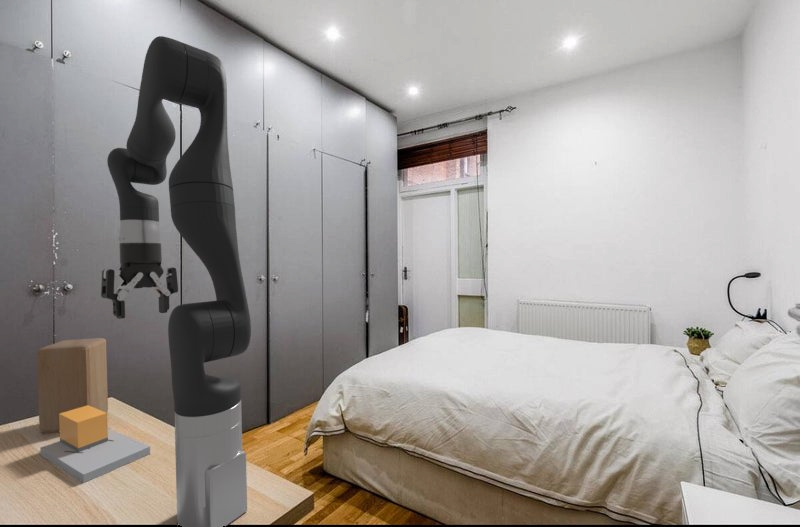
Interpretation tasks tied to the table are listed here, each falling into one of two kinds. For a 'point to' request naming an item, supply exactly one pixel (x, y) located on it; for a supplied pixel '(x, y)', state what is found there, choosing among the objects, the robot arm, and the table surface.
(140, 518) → the table surface
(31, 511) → the table surface
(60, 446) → the board
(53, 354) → the block
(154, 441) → the table surface
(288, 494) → the table surface
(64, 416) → the block
